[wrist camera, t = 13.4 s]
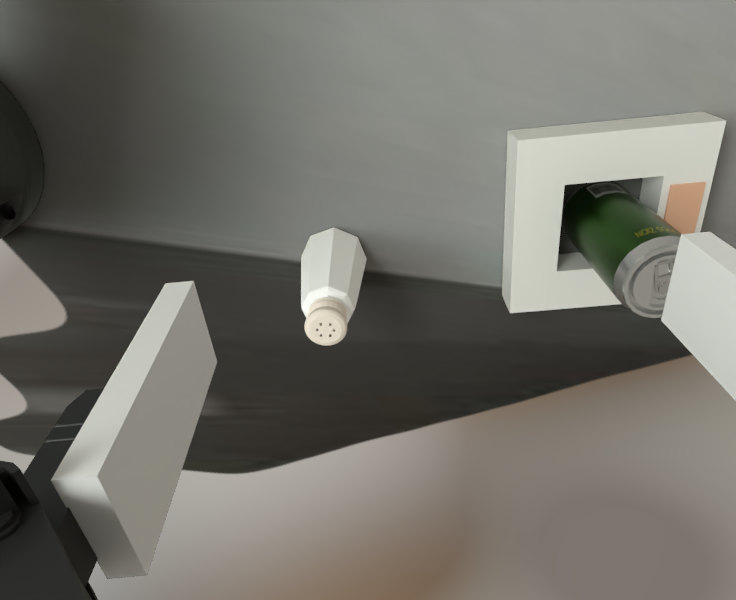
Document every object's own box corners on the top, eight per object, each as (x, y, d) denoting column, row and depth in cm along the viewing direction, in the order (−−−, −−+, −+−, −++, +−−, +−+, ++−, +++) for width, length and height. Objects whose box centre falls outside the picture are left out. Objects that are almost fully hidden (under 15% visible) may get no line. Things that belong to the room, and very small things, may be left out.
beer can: (554, 189, 42) (616, 257, 32) (624, 169, 41) (712, 231, 31) (563, 249, 44) (623, 330, 34) (630, 231, 44) (712, 308, 33)
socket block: (501, 295, 47) (510, 314, 44) (507, 130, 40) (518, 141, 37) (666, 281, 46) (686, 300, 43) (702, 111, 39) (728, 121, 36)
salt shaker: (367, 227, 43) (368, 295, 34) (365, 286, 46) (365, 364, 37) (300, 225, 43) (282, 292, 34) (302, 284, 46) (285, 362, 36)
